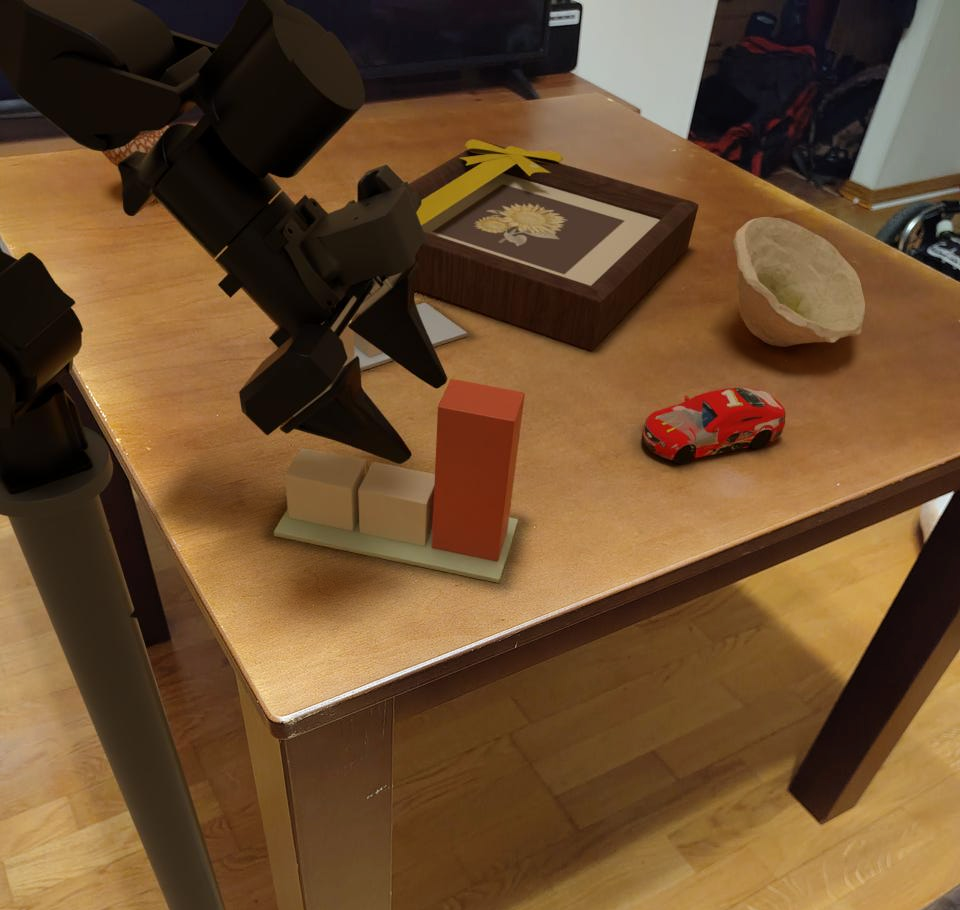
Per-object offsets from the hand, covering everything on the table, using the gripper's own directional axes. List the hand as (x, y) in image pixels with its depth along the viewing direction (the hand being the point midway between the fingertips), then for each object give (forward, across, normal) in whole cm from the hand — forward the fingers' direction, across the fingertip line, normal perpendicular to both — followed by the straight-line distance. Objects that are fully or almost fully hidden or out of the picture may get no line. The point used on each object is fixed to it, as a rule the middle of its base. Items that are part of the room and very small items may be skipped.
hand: (425, 420), depth 59 cm
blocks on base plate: (-1, +26, +15) cm, 30 cm away
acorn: (-26, +48, +40) cm, 68 cm away
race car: (+22, +20, -7) cm, 30 cm away
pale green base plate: (+6, 0, +8) cm, 10 cm away
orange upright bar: (+9, 0, +4) cm, 10 cm away
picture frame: (+6, +49, +8) cm, 50 cm away
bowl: (+26, +40, -12) cm, 50 cm away
